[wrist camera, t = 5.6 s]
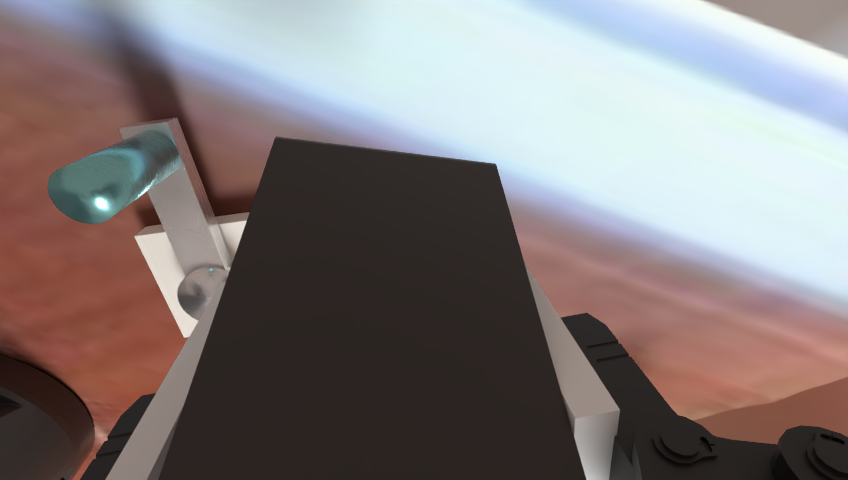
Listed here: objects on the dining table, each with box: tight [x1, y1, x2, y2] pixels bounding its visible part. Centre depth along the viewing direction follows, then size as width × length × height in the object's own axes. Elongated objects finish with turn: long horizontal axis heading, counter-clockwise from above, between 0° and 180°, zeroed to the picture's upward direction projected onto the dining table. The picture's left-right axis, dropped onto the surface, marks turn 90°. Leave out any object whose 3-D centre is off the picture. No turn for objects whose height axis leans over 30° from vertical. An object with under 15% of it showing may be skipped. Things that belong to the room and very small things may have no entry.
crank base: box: [134, 212, 250, 338], centre depth 28 cm, size 18×8×1 cm, turn 96°
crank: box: [48, 117, 233, 321], centre depth 22 cm, size 12×4×7 cm, turn 6°
